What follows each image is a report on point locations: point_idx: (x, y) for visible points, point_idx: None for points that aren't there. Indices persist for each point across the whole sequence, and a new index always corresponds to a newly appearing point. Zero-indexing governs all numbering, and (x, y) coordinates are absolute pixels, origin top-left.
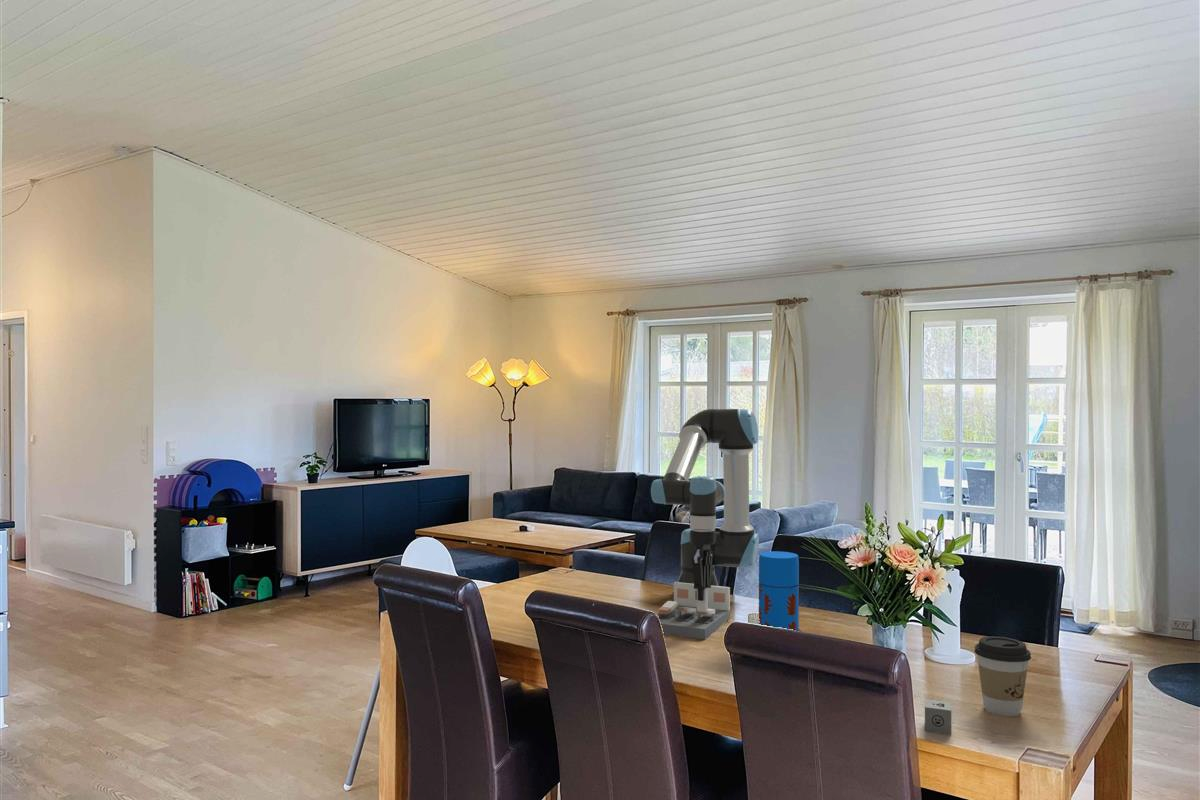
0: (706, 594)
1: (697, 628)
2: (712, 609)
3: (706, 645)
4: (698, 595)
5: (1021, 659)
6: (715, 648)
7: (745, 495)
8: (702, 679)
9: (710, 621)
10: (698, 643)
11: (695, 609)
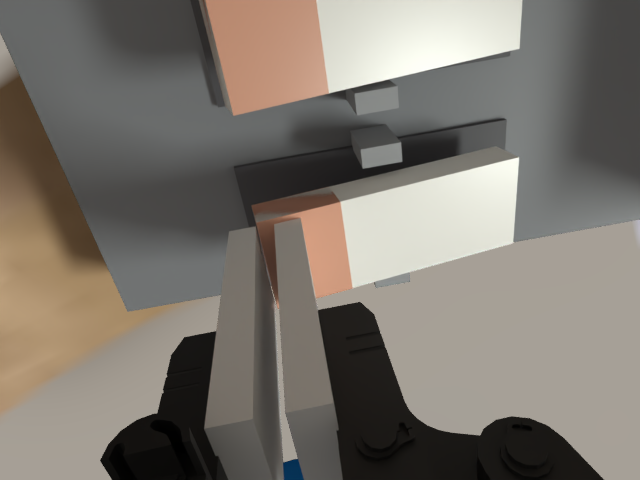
0: (281, 444)
1: (106, 261)
2: (478, 241)
3: (54, 325)
4: (168, 398)
5: None
6: (49, 378)
7: None
8: None
9: None
10: (48, 275)
11: (495, 51)
